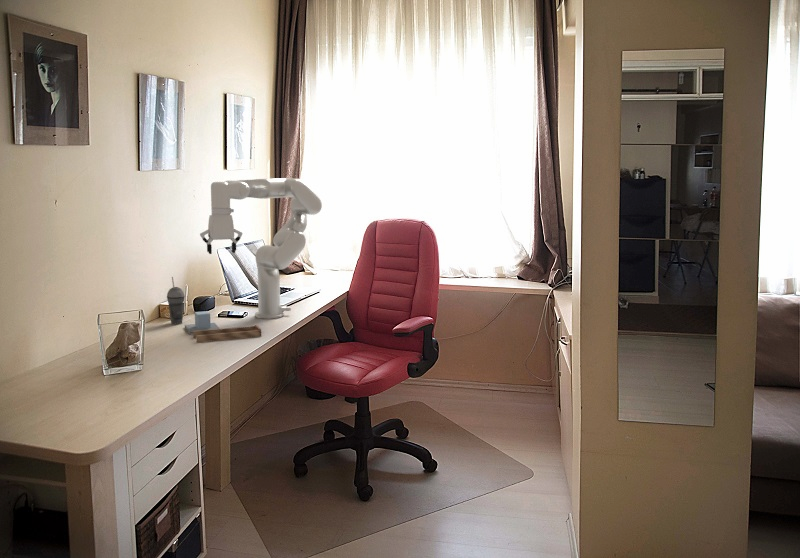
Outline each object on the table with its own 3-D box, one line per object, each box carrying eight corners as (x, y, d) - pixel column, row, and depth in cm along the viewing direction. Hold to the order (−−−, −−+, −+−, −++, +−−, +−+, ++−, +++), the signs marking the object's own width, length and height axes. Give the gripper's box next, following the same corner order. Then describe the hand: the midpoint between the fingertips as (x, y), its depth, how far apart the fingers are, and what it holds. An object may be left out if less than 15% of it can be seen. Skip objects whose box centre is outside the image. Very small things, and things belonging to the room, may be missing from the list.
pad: (214, 325, 303) (214, 322, 303) (220, 331, 292) (220, 328, 292) (185, 327, 298) (184, 324, 298) (189, 334, 287) (189, 331, 287)
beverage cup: (182, 325, 301) (180, 278, 298) (165, 325, 301) (163, 278, 298) (187, 321, 308) (186, 275, 305) (171, 321, 308) (169, 275, 305)
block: (207, 325, 298) (207, 311, 297) (210, 327, 293) (210, 313, 292) (195, 326, 295) (194, 312, 294) (198, 329, 291) (197, 314, 290)
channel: (256, 331, 293) (256, 324, 293) (261, 336, 286) (261, 329, 286) (193, 337, 283) (193, 329, 282) (197, 342, 276) (196, 334, 275)
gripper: (239, 211, 304) (240, 251, 307) (197, 211, 297) (199, 252, 300) (243, 212, 297) (244, 253, 300) (201, 213, 290) (202, 255, 293)
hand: (221, 253), depth 300 cm, fingers open, 9 cm apart
